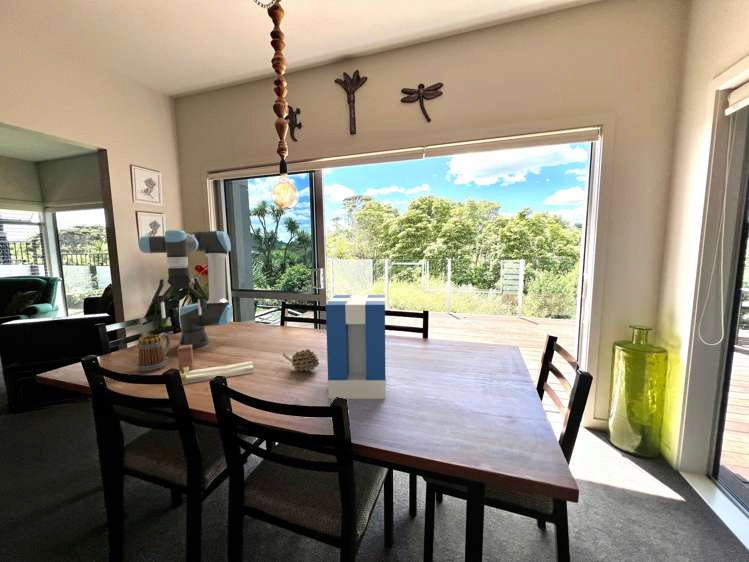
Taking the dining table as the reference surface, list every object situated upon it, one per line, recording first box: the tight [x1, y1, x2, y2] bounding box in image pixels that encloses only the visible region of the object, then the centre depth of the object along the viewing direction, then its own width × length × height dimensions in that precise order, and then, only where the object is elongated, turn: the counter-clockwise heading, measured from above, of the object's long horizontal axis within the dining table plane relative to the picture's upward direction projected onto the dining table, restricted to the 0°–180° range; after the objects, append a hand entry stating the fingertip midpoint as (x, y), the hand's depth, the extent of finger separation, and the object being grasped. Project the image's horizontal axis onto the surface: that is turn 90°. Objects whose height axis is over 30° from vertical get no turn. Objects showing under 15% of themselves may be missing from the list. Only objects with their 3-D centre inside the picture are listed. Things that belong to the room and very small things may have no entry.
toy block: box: [325, 294, 387, 400], centre depth 123 cm, size 21×21×35 cm
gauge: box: [177, 345, 195, 379], centre depth 133 cm, size 14×5×12 cm, turn 24°
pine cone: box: [282, 348, 320, 372], centre depth 142 cm, size 22×10×10 cm, turn 62°
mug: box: [137, 332, 171, 374], centre depth 146 cm, size 16×11×15 cm
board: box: [182, 361, 254, 385], centre depth 137 cm, size 9×30×2 cm, turn 114°
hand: (182, 316), depth 136 cm, fingers open, 13 cm apart
